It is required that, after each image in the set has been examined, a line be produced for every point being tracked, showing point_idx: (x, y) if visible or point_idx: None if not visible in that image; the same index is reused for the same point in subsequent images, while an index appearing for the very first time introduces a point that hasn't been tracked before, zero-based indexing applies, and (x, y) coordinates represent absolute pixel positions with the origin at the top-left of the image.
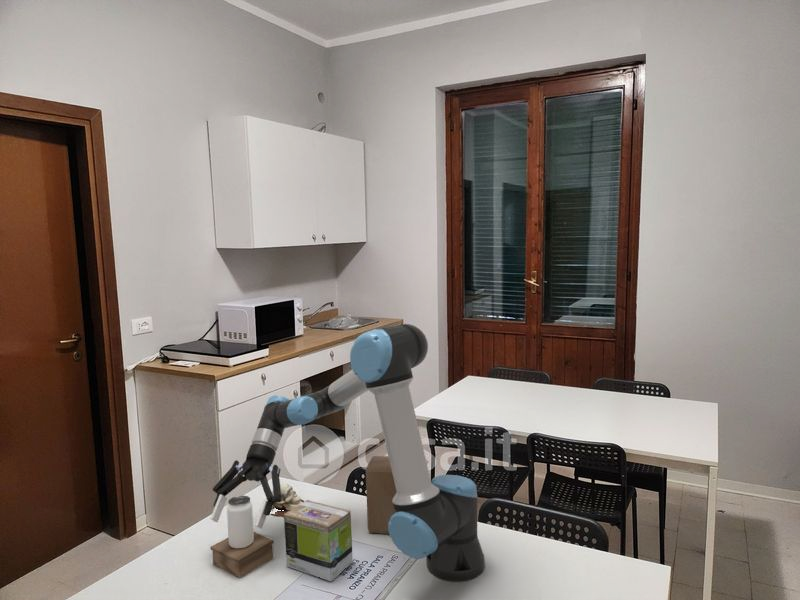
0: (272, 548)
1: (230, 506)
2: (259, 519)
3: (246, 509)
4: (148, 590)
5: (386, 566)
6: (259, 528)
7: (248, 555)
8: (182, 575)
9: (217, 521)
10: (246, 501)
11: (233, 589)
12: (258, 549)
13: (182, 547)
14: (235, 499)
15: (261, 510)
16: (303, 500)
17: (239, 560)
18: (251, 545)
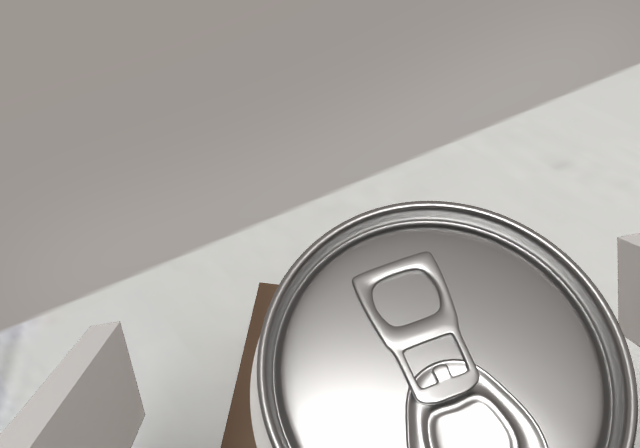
0: None
1: (448, 220)
2: (67, 354)
3: (258, 342)
4: (571, 110)
5: None
6: (138, 406)
7: (243, 357)
8: (556, 228)
9: (622, 328)
10: (323, 413)
11: (249, 254)
12: (222, 446)
13: None
14: (557, 387)
15: (36, 415)
16: None
17: (259, 290)
18: None
